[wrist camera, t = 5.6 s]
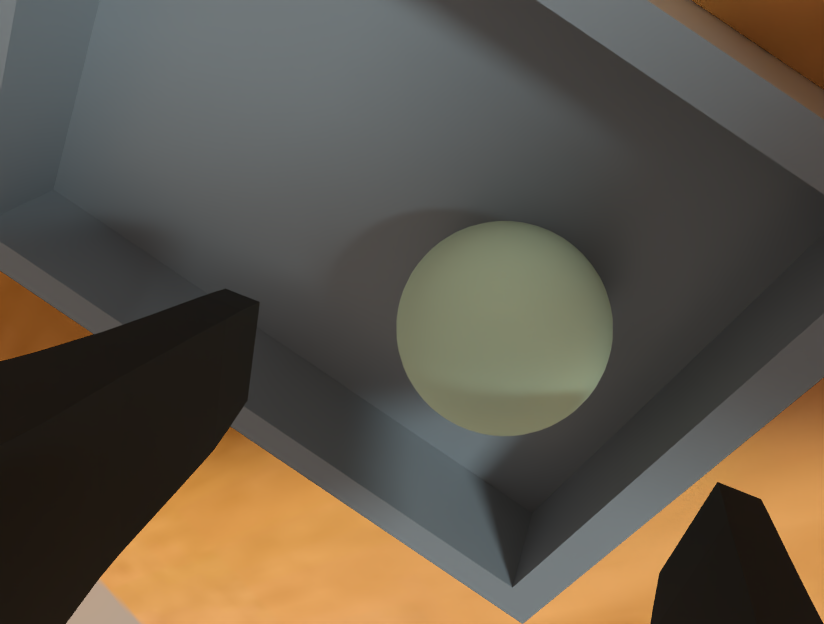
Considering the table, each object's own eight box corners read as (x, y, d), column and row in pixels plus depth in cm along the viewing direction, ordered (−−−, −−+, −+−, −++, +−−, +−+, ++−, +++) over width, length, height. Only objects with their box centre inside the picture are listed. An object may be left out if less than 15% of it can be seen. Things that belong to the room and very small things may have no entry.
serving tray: (939, 168, 13) (996, 235, 10) (545, 530, 20) (522, 624, 17) (163, -357, 13) (35, -413, 10) (38, 188, 20) (-57, 232, 17)
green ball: (649, 224, 14) (641, 330, 11) (583, 385, 17) (560, 512, 13) (451, 165, 15) (388, 248, 12) (413, 326, 17) (350, 435, 14)
